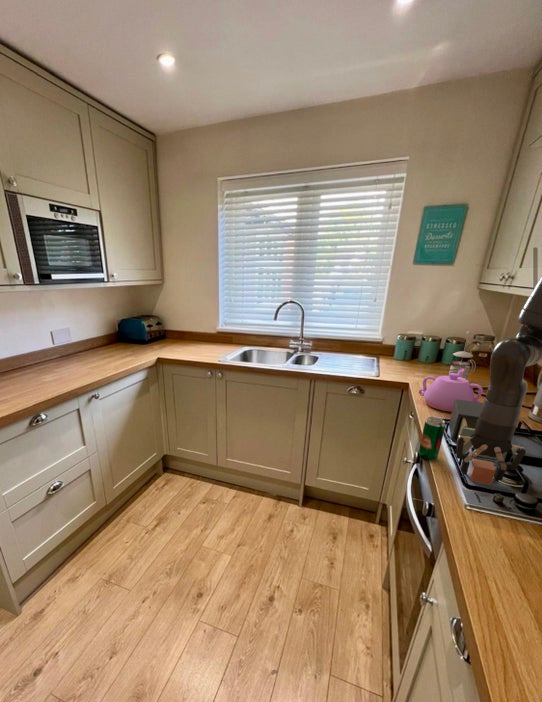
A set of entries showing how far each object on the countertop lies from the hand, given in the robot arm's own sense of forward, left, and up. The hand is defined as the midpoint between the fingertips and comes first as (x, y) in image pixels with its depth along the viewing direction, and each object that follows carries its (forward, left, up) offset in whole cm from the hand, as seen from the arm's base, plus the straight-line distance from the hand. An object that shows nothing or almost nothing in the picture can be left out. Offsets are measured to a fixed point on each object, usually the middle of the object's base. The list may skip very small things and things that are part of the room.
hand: (479, 476), depth 87 cm
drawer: (-1, -16, 0) cm, 16 cm away
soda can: (+12, -6, -1) cm, 13 cm away
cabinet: (-1, -28, -1) cm, 28 cm away
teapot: (+5, -56, -1) cm, 56 cm away
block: (0, 0, -1) cm, 1 cm away
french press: (-1, -93, -1) cm, 93 cm away
